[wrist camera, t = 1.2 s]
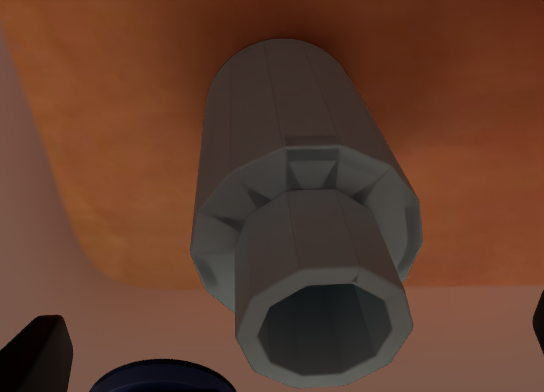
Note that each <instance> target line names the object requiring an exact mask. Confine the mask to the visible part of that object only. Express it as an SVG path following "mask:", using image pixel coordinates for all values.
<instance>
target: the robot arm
mask: <svg viewBox="0 0 544 392" xmlns="http://www.w3.org/2000/svg"><path fill="white" fill-rule="evenodd" d="M533 328H534V331H535V334H536V336H537V339H538V341H539V344H540V346H541V349H542V351H543V354H544V290H543V292H542V295H541V297H540V300H539V302H538V305H537V308H536V310H535V313H534V316H533ZM72 359H73V346H72V343H71V339H70V336H69V333H68V330H67V327H66V324H65V321H64V319H63V317H62V316H61V315H43V316H38V317H36V318H35V319H34V320H33V321H31V322H30V323H29V324H28V325H27V326H26V327H25V328H24V329H23V330H22V331H21V332H20V333H19V334H17V335H16V336H15V337H14V338H13V339H12V340H11V341H10V342H9V343H8V344H7V345H6V346H5V347H4V348H3V349H1V350H0V392H67V389H68V383H69V377H70V371H71V365H72ZM162 392H221V391H220V390H218V389H195V390H179V391H162Z"/></svg>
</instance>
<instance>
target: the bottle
mask: <svg viewBox="0 0 544 392" xmlns="http://www.w3.org/2000/svg"><path fill="white" fill-rule="evenodd" d="M422 242H423V236H422V223H421V210H420V202H419V199H418V197H417V195H416V194H415V192H414V190H413V188H412V187H411V185H410V183H409V181H408V179H407V178H406V176H405V174H404V172H403V171H402V169H401V167H400V165H399V163H398V162H397V160H396V158H395V156H394V155H393V153H392V151H391V149H390V147H389V146H388V144H387V142H386V140H385V138H384V137H383V135H382V133H381V131H380V130H379V128H378V126H377V124H376V122H375V121H374V119H373V117H372V115H371V114H370V112H369V110H368V108H367V106H366V105H365V103H364V101H363V99H362V98H361V96H360V94H359V92H358V90H357V89H356V87H355V85H354V83H353V82H352V81H351V79H350V78H349V77H348V75H347V74H346V72H345V71H344V69H343V67H342V66H341V65H340V64H339V63H338V61H337V60H336V59H335V58H333V57H332V56H331V55H330V54H329V53H327V52H326V51H324V50H323V49H321V48H319V47H317V46H315V45H313V44H311V43H308V42H305V41H301V40H295V39H284V38H280V39H270V40H266V41H261V42H258V43H255V44H253V45H250V46H248V47H246V48H244V49H242V50H241V51H239V52H238V53H236V54H235V55H234V56H232V57H231V58H230V59H229V60H228V61H227V62H226V63H225V64H224V65H223V66H222V68H221V69H220V70H219V71H218V73H217V74H216V76H215V78H214V79H213V82H212V84H211V86H210V88H209V90H208V96H207V101H206V108H205V114H204V120H203V130H202V140H201V149H200V159H199V169H198V178H197V188H196V198H195V207H194V217H193V227H192V236H191V246H190V252H191V253H190V254H191V256H192V259H193V261H194V264H195V266H196V269H197V271H198V273H199V276H200V278H201V281H202V283H203V285H204V288H205V289H206V290H207V292H208V293H210V294H211V295H212V296H213V297H215V298H216V299H217V300H218V301H220V302H221V303H223V305H225V306H226V307H227V308H229V309H230V310H231V311H232V312H234V313H235V336H236V340H237V342H238V344H239V345H240V347H241V349H242V351H243V353H244V355H245V356H246V358H247V360H248V362H249V364H250V366H251V367H252V369H253V370H254V371H255V372H256V373H259V374H261V375H264V376H266V377H269V378H271V379H274V380H276V381H278V382H281V383H283V384H286V385H288V386H291V387H293V388H312V387H328V386H344V385H348V384H350V383H352V382H354V381H356V380H358V379H360V378H362V377H364V376H366V375H368V374H370V373H372V372H374V371H376V370H378V369H380V368H382V367H384V366H386V365H388V364H389V363H391V362H392V360H393V359H394V357H395V356H396V354H397V353H398V351H399V350H400V348H401V347H402V345H403V343H404V342H405V340H406V339H407V337H408V336H409V334H410V333H411V331H412V329H413V322H412V318H411V314H410V310H409V305H408V301H407V297H406V294H405V290H404V287H403V285H402V282H403V281H404V280H405V279H406V277H407V275H408V273H409V270H410V268H411V266H412V264H413V262H414V260H415V258H416V256H417V254H418V252H419V250H420V248H421V246H422Z"/></svg>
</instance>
